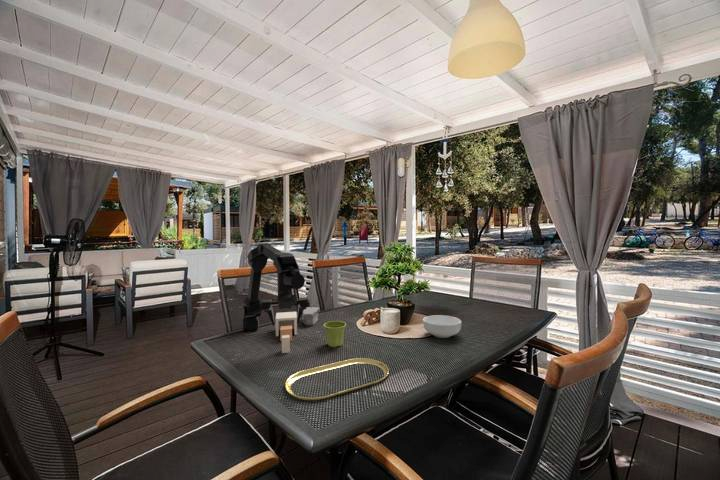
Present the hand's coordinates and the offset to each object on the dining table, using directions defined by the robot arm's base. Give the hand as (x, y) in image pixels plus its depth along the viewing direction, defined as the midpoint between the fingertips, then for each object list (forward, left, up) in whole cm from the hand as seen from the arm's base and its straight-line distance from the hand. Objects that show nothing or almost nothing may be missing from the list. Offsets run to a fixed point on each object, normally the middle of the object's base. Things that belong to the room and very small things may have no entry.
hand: (285, 325), depth 125 cm
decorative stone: (+12, +37, -11) cm, 40 cm away
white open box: (0, +24, -11) cm, 26 cm away
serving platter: (+17, -27, -11) cm, 34 cm away
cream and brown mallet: (0, +8, -11) cm, 13 cm away
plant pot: (+20, +3, -11) cm, 23 cm away
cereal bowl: (+69, +4, -11) cm, 70 cm away
